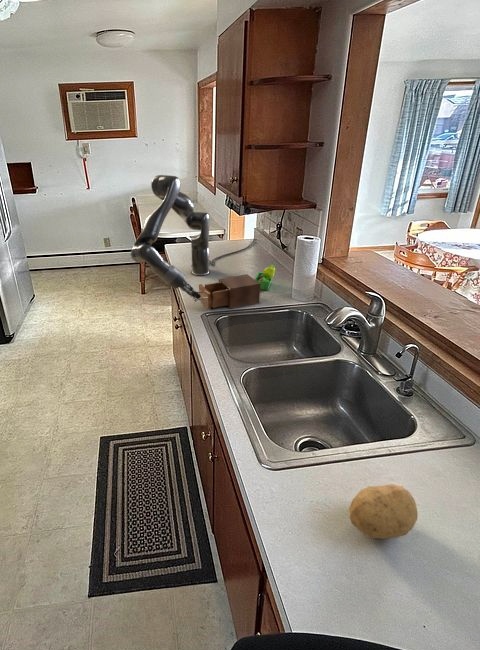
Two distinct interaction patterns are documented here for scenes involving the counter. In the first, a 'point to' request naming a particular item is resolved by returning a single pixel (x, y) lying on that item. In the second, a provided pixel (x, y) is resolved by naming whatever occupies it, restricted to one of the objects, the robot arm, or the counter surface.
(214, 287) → the drawer
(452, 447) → the counter surface
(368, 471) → the counter surface
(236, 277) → the cabinet
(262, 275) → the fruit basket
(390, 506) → the potato
